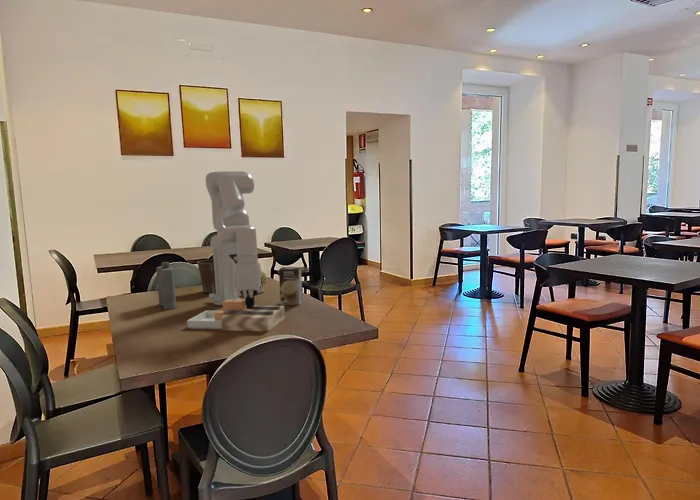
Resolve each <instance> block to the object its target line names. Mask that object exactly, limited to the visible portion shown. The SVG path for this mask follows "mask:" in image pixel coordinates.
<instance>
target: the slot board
mask: <svg viewBox="0 0 700 500" xmlns="http://www.w3.org/2000/svg"><path fill="white" fill-rule="evenodd" d="M285 315H286V313H285V305H254V307H252V308H247V310H246V311H245V310H228V311H226V314H225V315H224V316H222V317H221V324H222V329H221V331H230V332H231V331H232V332H233V331H236V332H270V331H271V330H272V329H274V328H275V327H276V326H277V325H279V324H280V323H281V322H282V321H283V320H285V319H286V316H285Z"/></svg>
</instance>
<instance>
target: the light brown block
mask: <svg viewBox="0 0 700 500" xmlns="http://www.w3.org/2000/svg"><path fill="white" fill-rule="evenodd" d="M235 300H236V299H232V300H225V301H223V302H222V305H221V306H222V311H223V312H226V311H228V310H233V305H232V302H233V301H235Z"/></svg>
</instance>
